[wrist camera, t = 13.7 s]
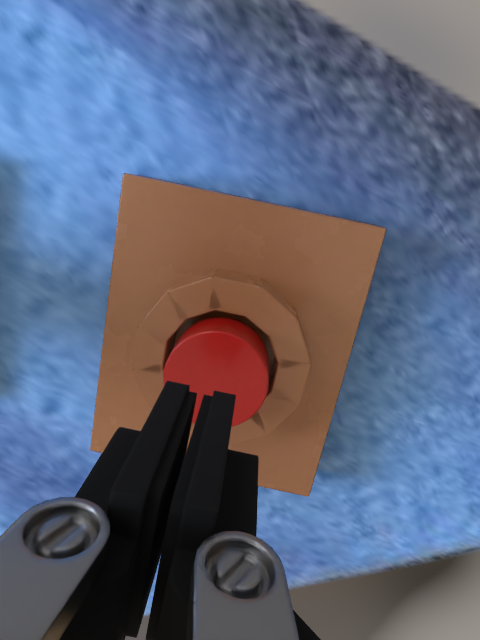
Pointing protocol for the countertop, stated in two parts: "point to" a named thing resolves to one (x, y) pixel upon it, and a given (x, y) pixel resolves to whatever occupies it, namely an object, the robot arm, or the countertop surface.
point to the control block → (235, 311)
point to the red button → (221, 364)
